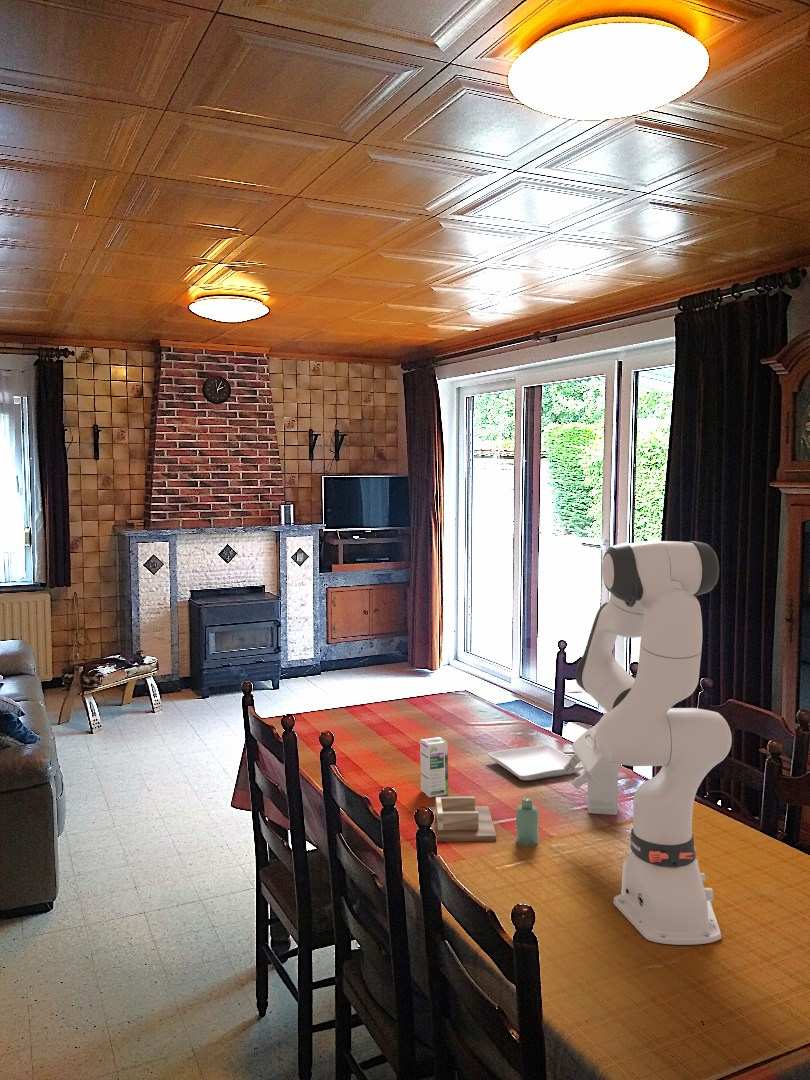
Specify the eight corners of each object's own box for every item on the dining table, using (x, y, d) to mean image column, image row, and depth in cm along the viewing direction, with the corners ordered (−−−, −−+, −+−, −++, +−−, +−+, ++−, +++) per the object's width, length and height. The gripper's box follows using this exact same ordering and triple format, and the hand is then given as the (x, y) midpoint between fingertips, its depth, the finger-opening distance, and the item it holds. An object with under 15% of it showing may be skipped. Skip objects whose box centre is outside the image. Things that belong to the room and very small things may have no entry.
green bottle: (539, 846, 198) (539, 803, 197) (517, 846, 198) (517, 804, 197) (536, 837, 203) (536, 795, 202) (514, 837, 203) (514, 795, 202)
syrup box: (429, 798, 229) (428, 744, 227) (420, 791, 234) (419, 738, 233) (448, 795, 231) (448, 741, 230) (439, 787, 236) (439, 735, 235)
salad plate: (587, 776, 245) (587, 764, 244) (521, 787, 237) (521, 774, 237) (548, 754, 264) (548, 743, 264) (485, 763, 257) (485, 752, 256)
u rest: (496, 840, 202) (496, 818, 201) (427, 841, 201) (427, 819, 201) (488, 810, 219) (488, 790, 219) (425, 811, 219) (424, 791, 219)
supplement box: (618, 815, 215) (618, 765, 215) (587, 813, 217) (587, 764, 216) (616, 804, 223) (617, 756, 222) (587, 802, 224) (587, 754, 223)
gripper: (592, 714, 209) (552, 754, 210) (613, 740, 189) (568, 785, 190) (611, 732, 210) (570, 772, 210) (633, 760, 189) (589, 804, 190)
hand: (569, 778), depth 200 cm, fingers open, 8 cm apart
